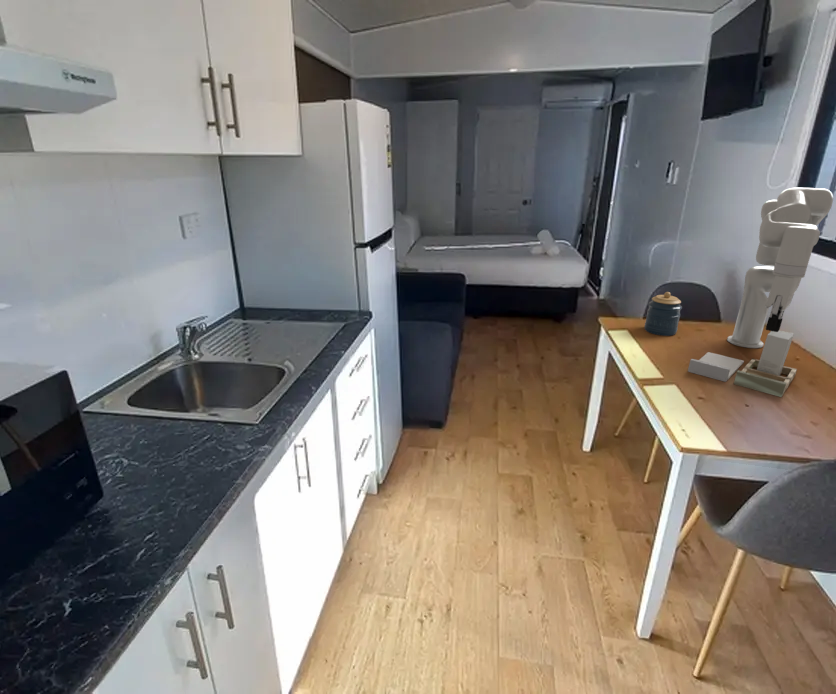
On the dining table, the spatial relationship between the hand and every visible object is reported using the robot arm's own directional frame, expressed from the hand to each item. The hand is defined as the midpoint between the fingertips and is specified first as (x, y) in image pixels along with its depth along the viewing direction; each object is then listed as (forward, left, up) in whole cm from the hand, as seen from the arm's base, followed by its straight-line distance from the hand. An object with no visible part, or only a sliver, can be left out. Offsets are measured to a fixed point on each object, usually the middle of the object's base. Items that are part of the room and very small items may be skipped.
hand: (772, 330), depth 148 cm
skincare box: (-23, 0, -23) cm, 32 cm away
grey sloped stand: (-17, -15, -22) cm, 32 cm away
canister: (-44, -44, -23) cm, 66 cm away
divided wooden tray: (-17, 0, -22) cm, 28 cm away
